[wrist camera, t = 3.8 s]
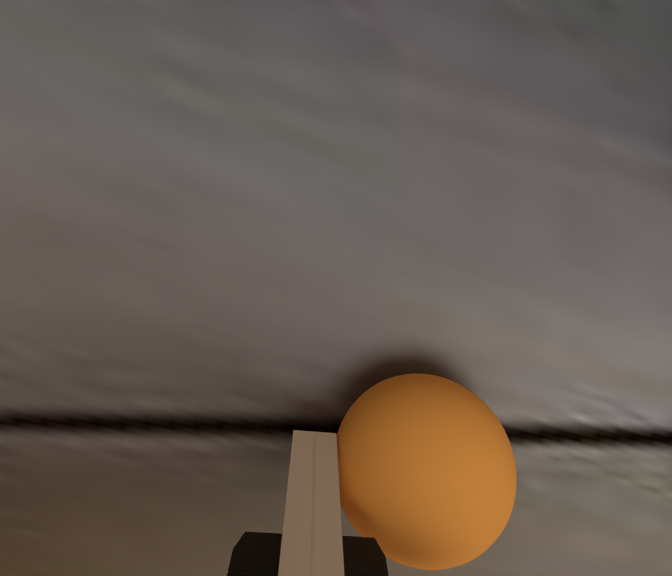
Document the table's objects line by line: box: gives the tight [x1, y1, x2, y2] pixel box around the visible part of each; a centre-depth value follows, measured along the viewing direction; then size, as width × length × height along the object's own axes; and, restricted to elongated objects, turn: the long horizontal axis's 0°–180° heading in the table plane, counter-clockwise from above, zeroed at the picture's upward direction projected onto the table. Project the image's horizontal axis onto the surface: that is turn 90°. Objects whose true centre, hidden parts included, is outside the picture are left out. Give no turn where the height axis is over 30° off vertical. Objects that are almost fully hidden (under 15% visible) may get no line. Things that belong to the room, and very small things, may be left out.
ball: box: [336, 373, 517, 570], centre depth 14 cm, size 6×6×6 cm
